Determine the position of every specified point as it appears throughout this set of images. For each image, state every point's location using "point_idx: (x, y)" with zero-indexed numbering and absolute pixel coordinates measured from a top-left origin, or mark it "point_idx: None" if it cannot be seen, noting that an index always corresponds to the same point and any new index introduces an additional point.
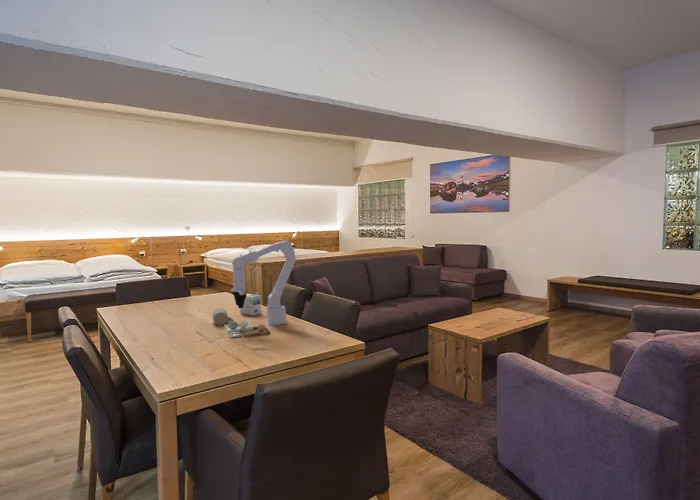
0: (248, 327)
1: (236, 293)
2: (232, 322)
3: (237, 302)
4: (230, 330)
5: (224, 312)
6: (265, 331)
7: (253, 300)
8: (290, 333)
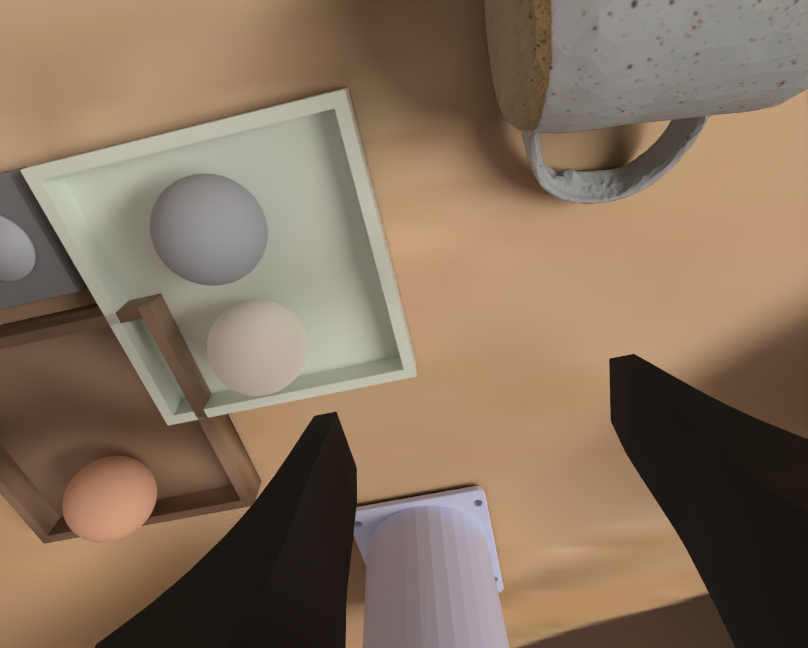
0: (185, 385)
1: (804, 606)
2: (161, 238)
3: (637, 410)
4: (39, 202)
5: (588, 78)
6: None
7: None
8: (122, 616)
